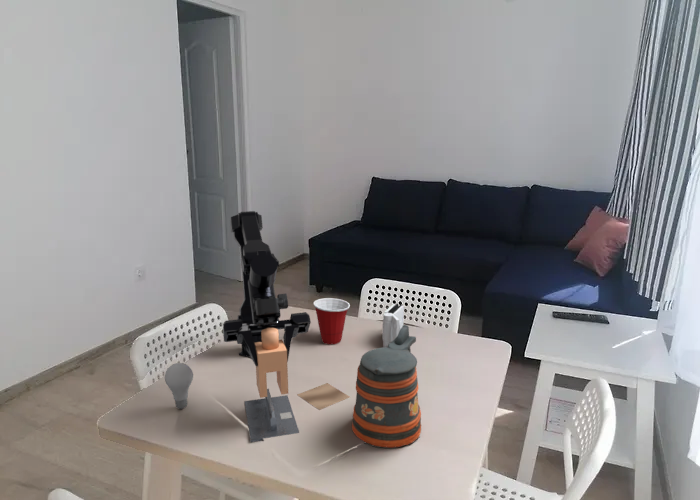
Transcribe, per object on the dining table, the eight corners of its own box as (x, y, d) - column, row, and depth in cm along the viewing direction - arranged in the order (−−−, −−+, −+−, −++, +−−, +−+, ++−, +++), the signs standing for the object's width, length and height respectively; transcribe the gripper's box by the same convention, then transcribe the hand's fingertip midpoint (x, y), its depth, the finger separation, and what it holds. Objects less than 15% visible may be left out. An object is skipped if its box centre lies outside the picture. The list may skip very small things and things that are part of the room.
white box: (399, 354, 148) (399, 320, 146) (380, 352, 149) (380, 319, 147) (404, 335, 162) (404, 303, 159) (386, 333, 163) (386, 302, 160)
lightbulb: (170, 418, 116) (165, 372, 114) (165, 405, 122) (161, 361, 119) (198, 411, 119) (194, 366, 116) (192, 399, 124) (189, 356, 122)
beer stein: (372, 396, 125) (373, 317, 120) (433, 408, 120) (436, 325, 115) (341, 439, 108) (340, 349, 103) (410, 456, 103) (413, 361, 98)
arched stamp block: (256, 384, 117) (253, 327, 114) (283, 380, 118) (281, 324, 115) (260, 397, 111) (257, 338, 108) (288, 393, 113) (286, 334, 110)
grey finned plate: (244, 403, 122) (243, 383, 121) (287, 397, 125) (286, 377, 124) (250, 442, 107) (249, 420, 106) (299, 434, 110) (298, 412, 109)
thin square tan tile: (297, 396, 125) (296, 394, 125) (327, 384, 131) (327, 382, 131) (319, 411, 118) (319, 409, 118) (350, 398, 124) (350, 396, 124)
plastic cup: (350, 348, 152) (349, 309, 149) (312, 348, 152) (311, 309, 149) (350, 333, 163) (350, 296, 160) (315, 333, 163) (314, 296, 160)
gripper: (220, 285, 110) (227, 355, 103) (307, 277, 116) (320, 344, 108) (220, 308, 120) (226, 374, 112) (301, 300, 125) (312, 363, 117)
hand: (271, 363), depth 112 cm, fingers closed on arched stamp block, 6 cm apart
